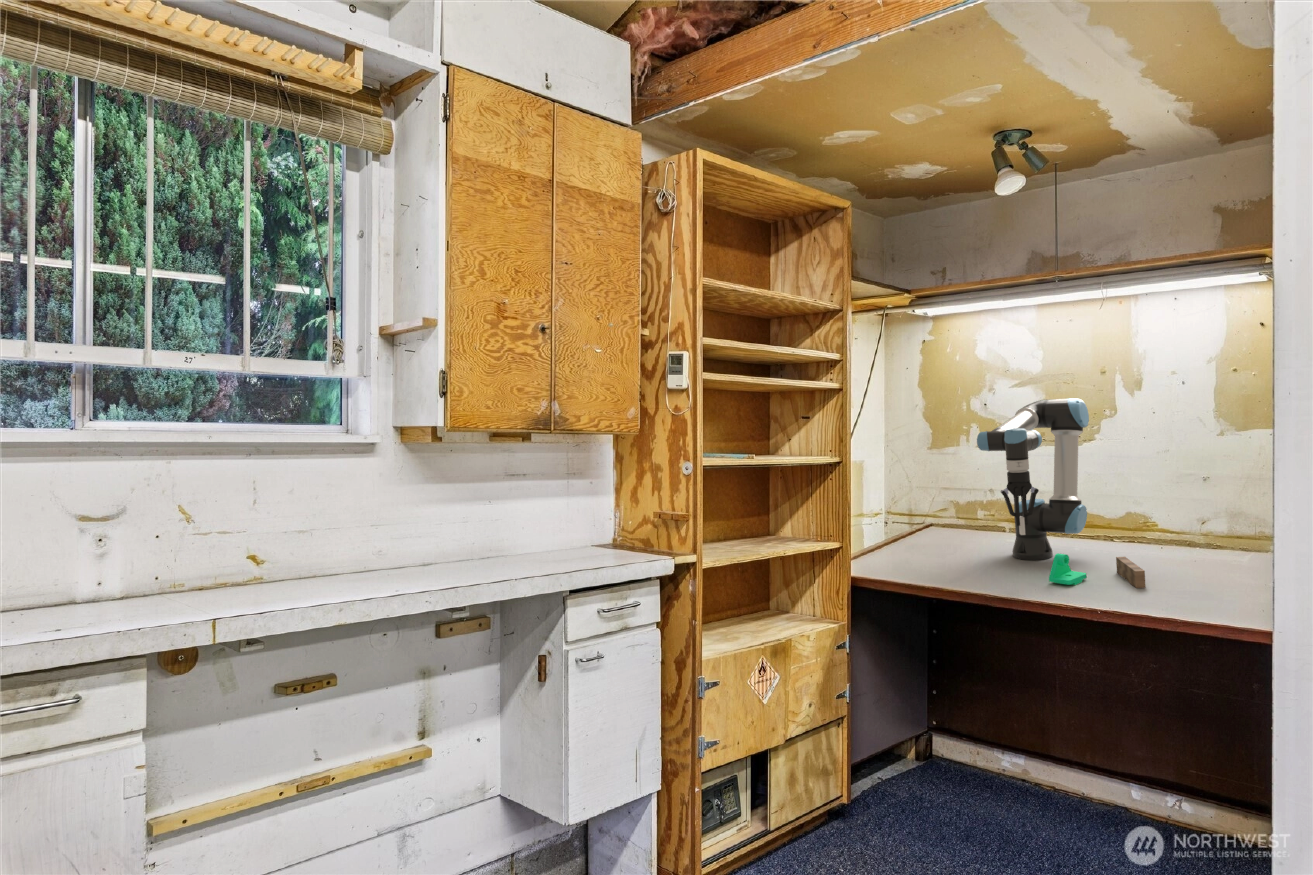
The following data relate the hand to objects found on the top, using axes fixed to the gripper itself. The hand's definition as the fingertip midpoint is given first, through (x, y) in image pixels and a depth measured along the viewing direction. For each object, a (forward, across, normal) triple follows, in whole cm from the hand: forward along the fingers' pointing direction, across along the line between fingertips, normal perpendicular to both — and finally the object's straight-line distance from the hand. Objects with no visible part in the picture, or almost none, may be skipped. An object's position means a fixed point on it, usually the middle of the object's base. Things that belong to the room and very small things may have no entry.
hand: (1022, 534), depth 305 cm
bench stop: (+19, +35, -1) cm, 40 cm away
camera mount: (+19, +15, 0) cm, 24 cm away
